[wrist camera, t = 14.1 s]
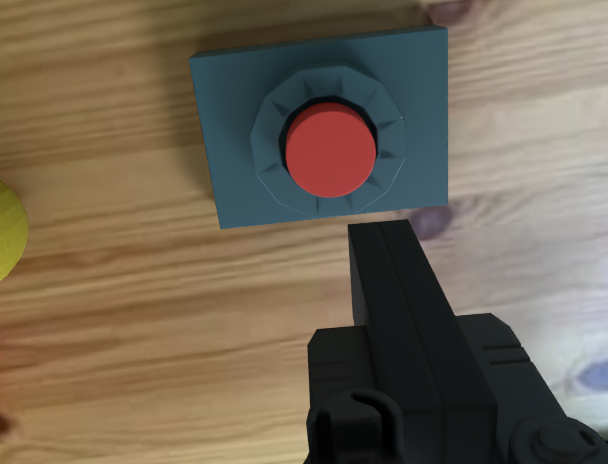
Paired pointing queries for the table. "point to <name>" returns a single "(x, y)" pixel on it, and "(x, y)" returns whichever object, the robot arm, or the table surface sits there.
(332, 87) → the button box
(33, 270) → the table surface
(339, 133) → the button
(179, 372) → the table surface
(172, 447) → the table surface
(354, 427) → the robot arm
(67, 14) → the table surface
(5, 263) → the lemon
